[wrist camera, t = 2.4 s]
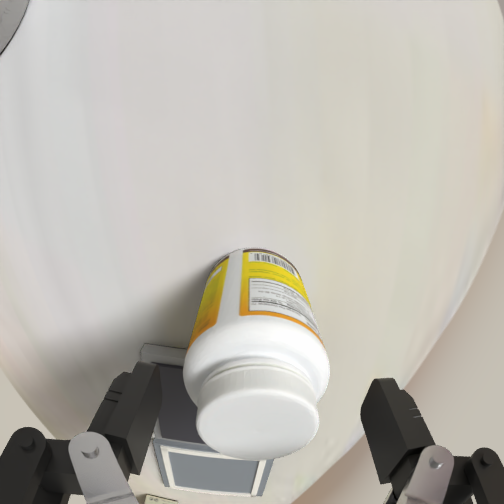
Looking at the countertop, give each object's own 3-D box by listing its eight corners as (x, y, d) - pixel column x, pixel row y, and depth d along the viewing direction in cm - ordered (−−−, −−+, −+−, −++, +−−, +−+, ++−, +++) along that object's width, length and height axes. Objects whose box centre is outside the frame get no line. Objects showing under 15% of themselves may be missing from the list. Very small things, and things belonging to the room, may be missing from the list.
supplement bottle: (223, 336, 19) (205, 476, 10) (194, 257, 18) (138, 384, 8) (310, 316, 19) (348, 455, 9) (291, 232, 17) (336, 349, 7)
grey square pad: (165, 482, 27) (164, 487, 26) (154, 437, 24) (152, 444, 23) (261, 492, 27) (261, 497, 27) (274, 450, 24) (275, 456, 23)
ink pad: (157, 429, 23) (154, 440, 22) (144, 343, 20) (139, 355, 18) (271, 441, 23) (272, 452, 22) (291, 358, 20) (294, 370, 19)
